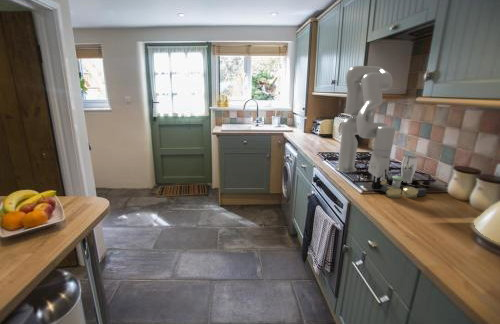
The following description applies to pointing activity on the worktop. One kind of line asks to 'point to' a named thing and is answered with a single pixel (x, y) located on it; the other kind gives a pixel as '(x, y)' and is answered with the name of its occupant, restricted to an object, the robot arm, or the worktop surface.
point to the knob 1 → (390, 191)
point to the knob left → (381, 182)
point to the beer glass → (408, 168)
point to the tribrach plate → (397, 181)
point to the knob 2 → (413, 192)
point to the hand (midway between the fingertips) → (375, 188)
